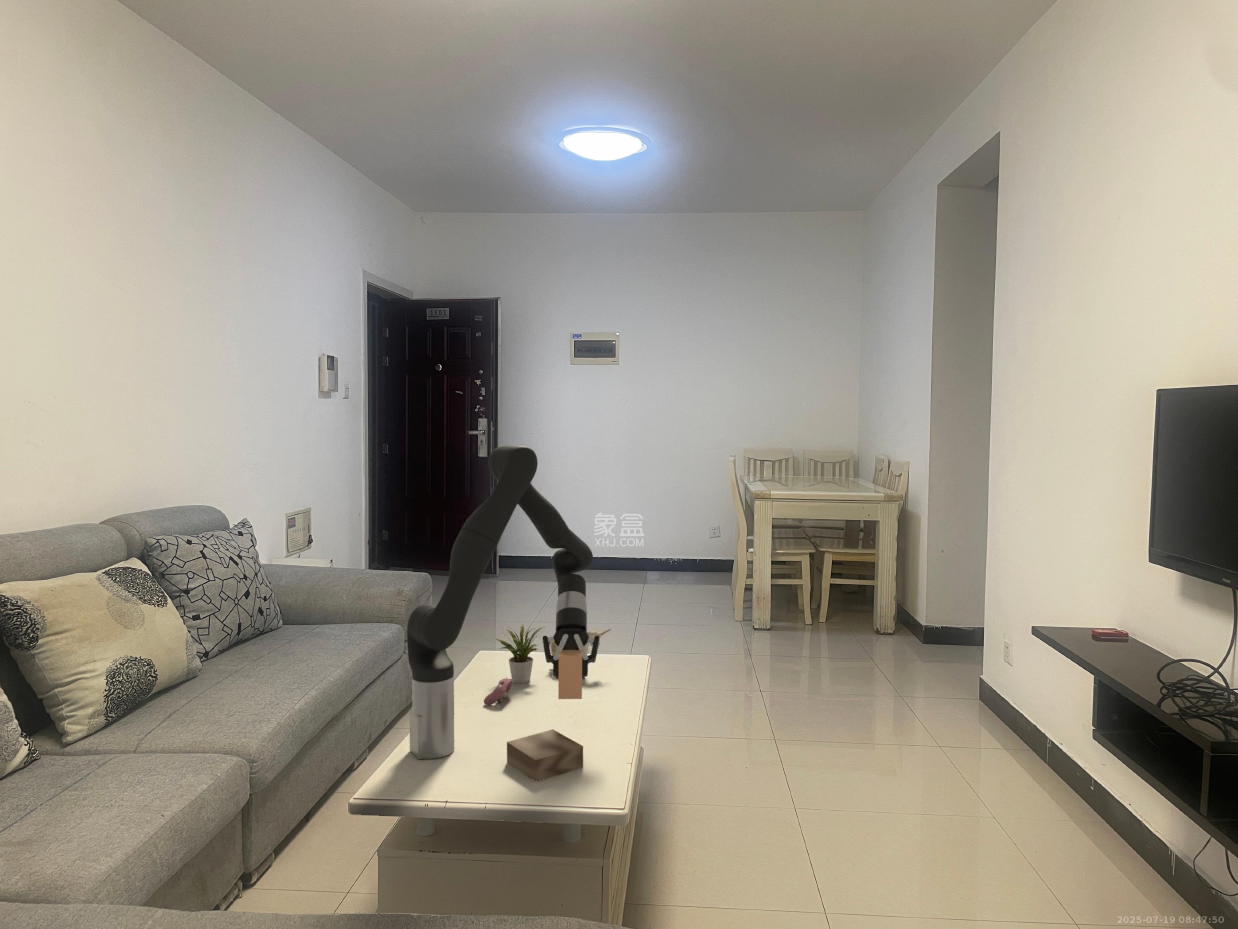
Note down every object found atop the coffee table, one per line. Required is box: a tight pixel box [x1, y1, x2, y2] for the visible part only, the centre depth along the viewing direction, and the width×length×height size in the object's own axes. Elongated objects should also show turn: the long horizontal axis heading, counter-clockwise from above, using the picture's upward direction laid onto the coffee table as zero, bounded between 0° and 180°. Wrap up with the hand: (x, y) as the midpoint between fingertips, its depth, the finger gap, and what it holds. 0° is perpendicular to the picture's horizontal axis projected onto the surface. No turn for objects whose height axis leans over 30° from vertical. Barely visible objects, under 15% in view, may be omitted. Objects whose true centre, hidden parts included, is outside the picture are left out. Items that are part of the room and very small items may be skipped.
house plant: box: [495, 623, 546, 684], centre depth 232 cm, size 14×14×16 cm
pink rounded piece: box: [483, 677, 515, 706], centre depth 214 cm, size 10×5×7 cm, turn 169°
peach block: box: [557, 650, 583, 700], centre depth 185 cm, size 5×5×10 cm
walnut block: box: [506, 729, 584, 782], centre depth 173 cm, size 12×12×5 cm
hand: (570, 677), depth 183 cm, fingers closed on peach block, 5 cm apart
